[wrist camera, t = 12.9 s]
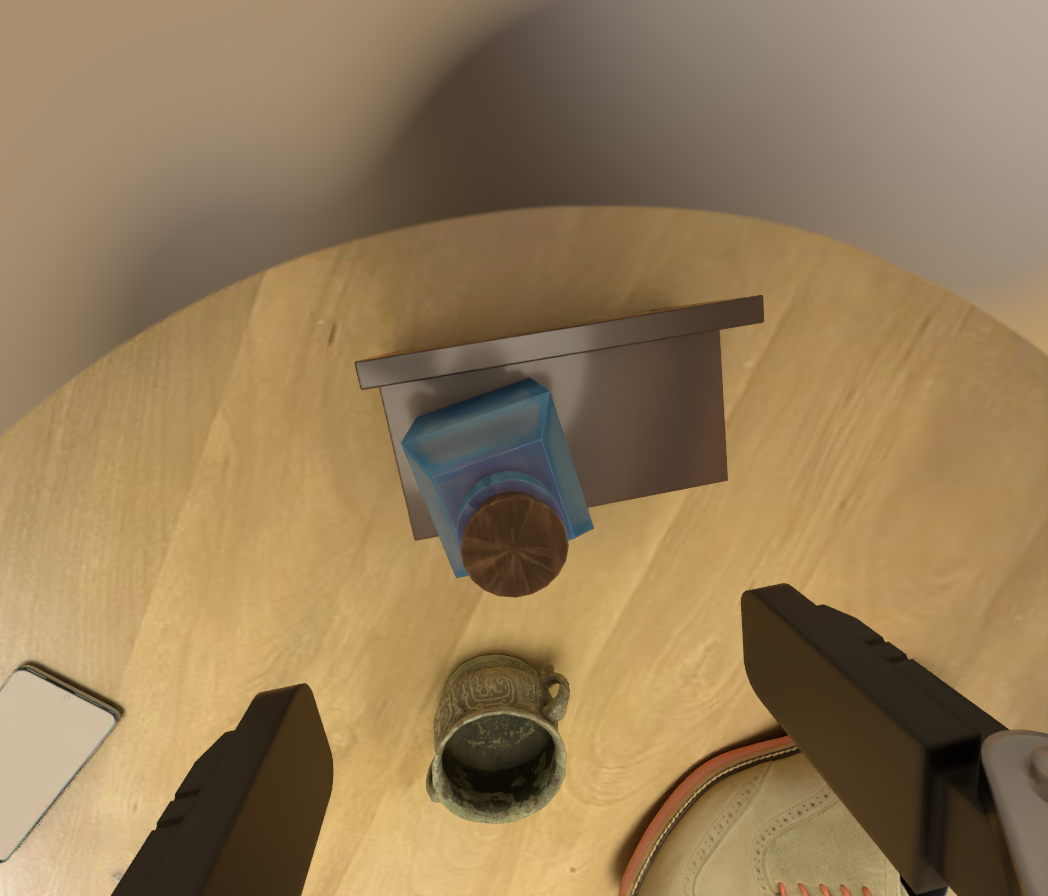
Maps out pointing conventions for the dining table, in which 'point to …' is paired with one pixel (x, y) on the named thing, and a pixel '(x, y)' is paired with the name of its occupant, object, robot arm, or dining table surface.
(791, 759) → the oxford shoe
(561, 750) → the vessel
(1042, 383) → the dining table surface
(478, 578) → the perfume bottle
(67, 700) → the smartphone
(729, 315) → the wooden display stand
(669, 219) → the dining table surface
